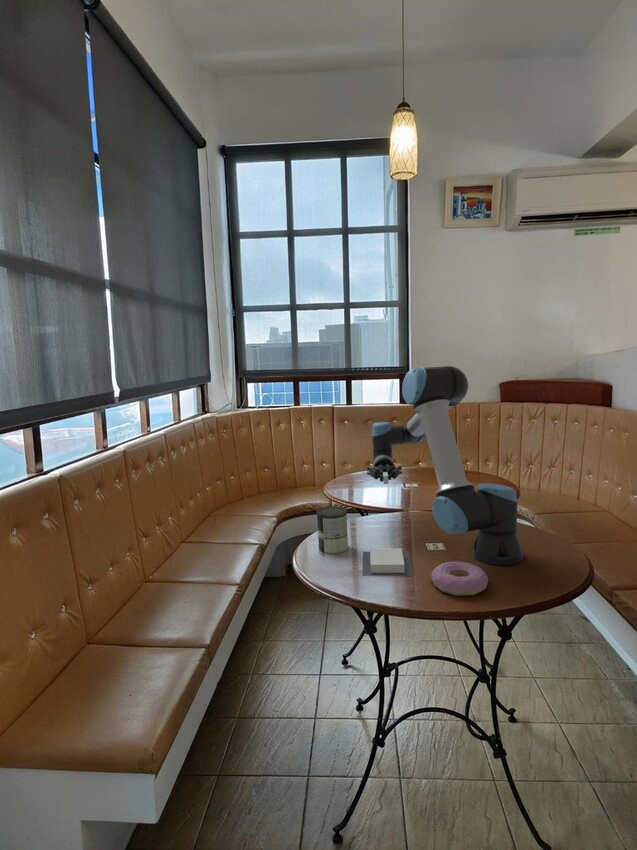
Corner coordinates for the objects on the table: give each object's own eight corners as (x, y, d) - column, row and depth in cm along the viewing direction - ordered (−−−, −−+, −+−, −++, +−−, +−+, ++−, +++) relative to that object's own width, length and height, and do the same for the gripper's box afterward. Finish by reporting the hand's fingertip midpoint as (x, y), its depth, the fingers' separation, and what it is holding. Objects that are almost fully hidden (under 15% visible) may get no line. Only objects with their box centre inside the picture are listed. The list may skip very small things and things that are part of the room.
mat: (408, 553, 167) (408, 551, 167) (413, 577, 148) (413, 575, 148) (363, 553, 169) (363, 551, 169) (362, 578, 150) (362, 575, 150)
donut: (456, 570, 153) (456, 554, 152) (499, 587, 140) (499, 570, 139) (420, 585, 144) (419, 568, 143) (462, 605, 131) (462, 586, 131)
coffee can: (312, 552, 172) (310, 512, 171) (330, 543, 180) (329, 504, 178) (336, 558, 166) (334, 517, 164) (354, 548, 174) (352, 509, 172)
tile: (401, 548, 162) (404, 564, 150) (401, 556, 163) (404, 573, 150) (370, 548, 163) (370, 564, 151) (370, 556, 164) (370, 573, 151)
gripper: (401, 475, 190) (406, 490, 167) (366, 476, 192) (366, 491, 168) (400, 456, 190) (405, 468, 166) (365, 457, 191) (365, 469, 168)
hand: (385, 480), depth 167 cm, fingers closed
